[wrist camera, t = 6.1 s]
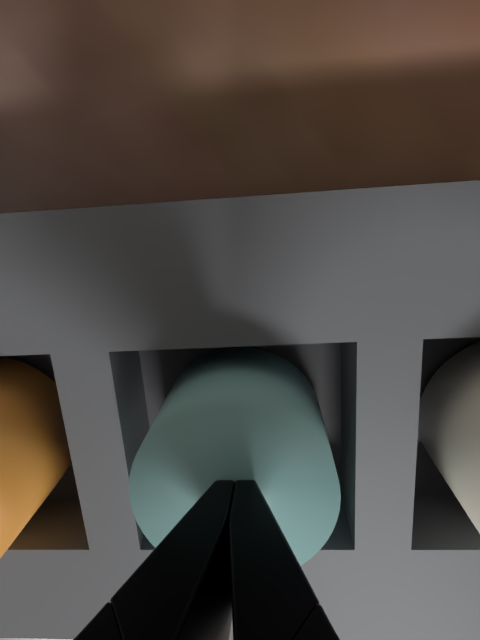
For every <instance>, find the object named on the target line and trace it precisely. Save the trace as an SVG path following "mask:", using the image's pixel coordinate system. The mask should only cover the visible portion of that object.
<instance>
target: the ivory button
mask: <svg viewBox="0 0 480 640" xmlns="http://www.w3.org/2000/svg"><path fill="white" fill-rule="evenodd" d="M418 430H419V435H420V438H421V441H422V444H423V445H424V447H425V449H426V451H427V453H428V454H429V456H430V457H431V459H432V460H433V462H434V464H435V465H436V467H437V468H438V470H439V471H440V473H441V474H442V476H443V478H444V479H445V481H446V482H447V484H448V485H449V487H450V488H451V490H452V492H453V493H454V495H455V496H456V498H457V499H458V501H459V502H460V504H461V506H462V507H463V509H464V510H465V512H466V513H467V515H468V516H469V518H470V520H471V521H472V523H473V524H474V526H475V527H476V529H477V530H478V532H479V534H480V342H478V343H475V344H473V345H471V346H469V347H467V348H465V349H463V350H462V351H460V352H458V353H457V354H455V355H454V356H452V357H451V358H450V359H449V360H447V361H446V362H445V363H444V364H443V365H442V366H441V367H440V368H439V369H438V370H437V371H436V373H435V374H434V375H433V376H432V378H431V379H430V381H429V382H428V384H427V386H426V387H425V390H424V392H423V394H422V396H421V400H420V405H419V422H418Z"/></svg>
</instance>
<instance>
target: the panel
mask: <svg viewBox="0 0 480 640" xmlns="http://www.w3.org/2000/svg"><path fill="white" fill-rule="evenodd" d="M478 342H480V180H475V181H460V182H446V183H432V184H417V185H403V186H389V187H374V188H360V189H345V190H331V191H317V192H302V193H288V194H273V195H259V196H245V197H230V198H216V199H201V200H187V201H173V202H158V203H144V204H130V205H115V206H101V207H86V208H72V209H58V210H43V211H29V212H14V213H0V357H3V358H10V359H14V360H17V361H20V362H23V363H25V364H28V365H30V366H32V367H34V368H36V369H38V370H39V371H41V372H42V373H44V374H45V375H46V376H48V377H49V378H50V379H51V380H52V381H53V382H55V383H56V386H57V391H58V396H59V401H60V406H61V410H62V415H63V420H64V425H65V430H66V435H67V440H68V445H69V450H70V455H71V460H72V465H71V466H70V467H69V469H68V470H67V471H66V473H65V474H64V475H63V477H62V478H61V479H60V480H59V482H58V483H57V484H56V486H55V487H54V488H53V490H52V491H51V492H50V494H49V495H48V496H47V498H46V499H45V500H44V502H43V503H42V504H41V506H40V507H39V508H38V510H37V511H36V512H35V514H34V515H33V516H32V518H31V519H30V520H29V521H28V523H27V524H26V525H25V527H24V528H23V529H22V531H21V532H20V533H19V535H18V536H17V537H16V539H15V540H14V541H13V543H12V544H11V545H10V547H9V548H8V549H7V551H6V552H5V553H4V555H3V556H2V557H1V558H0V638H47V639H74V638H75V637H76V636H77V635H78V634H79V633H80V632H81V631H82V630H83V628H84V627H85V626H86V625H87V624H88V623H89V622H90V621H91V620H92V619H93V618H94V616H95V615H96V614H97V613H98V612H99V611H100V610H101V609H102V607H103V606H104V605H105V604H106V603H107V602H110V599H111V598H112V596H113V595H114V594H115V593H116V592H117V591H118V590H119V589H120V587H121V586H122V585H123V584H124V583H125V582H126V581H127V579H128V578H129V577H130V576H131V575H132V574H133V573H134V572H135V570H136V569H137V568H138V567H139V566H140V565H141V564H142V563H143V561H144V560H145V559H146V558H147V557H148V556H149V555H150V554H151V552H152V551H153V550H154V549H155V547H154V546H153V545H152V544H151V543H150V542H149V540H148V539H147V538H146V536H145V535H144V534H143V532H142V530H141V529H140V527H139V525H138V523H137V521H136V519H135V516H134V514H133V511H132V507H131V503H130V497H129V476H130V472H131V467H132V464H133V461H134V459H135V456H136V454H137V452H138V450H139V448H140V446H141V444H142V442H143V440H144V438H145V437H146V435H147V433H148V431H149V429H150V427H151V425H152V423H153V421H154V420H155V418H156V416H157V414H158V412H159V410H160V408H161V406H162V404H163V402H164V401H165V399H166V397H167V395H168V393H169V391H170V389H171V387H172V386H173V384H174V382H175V380H176V379H177V377H178V376H179V375H180V374H181V372H182V371H183V370H184V369H185V368H186V367H187V366H188V365H189V364H191V363H192V362H194V361H195V360H196V359H198V358H200V357H202V356H204V355H205V354H208V353H210V352H213V351H216V350H220V349H224V348H231V347H251V348H258V349H262V350H265V351H269V352H271V353H274V354H276V355H279V356H280V357H282V358H284V359H286V360H287V361H289V362H290V363H291V364H293V365H294V366H295V367H297V368H298V369H299V370H300V371H301V372H302V373H303V374H304V376H305V377H306V378H307V379H308V381H309V382H310V384H311V385H312V387H313V389H314V391H315V393H316V396H317V398H318V401H319V405H320V409H321V413H322V417H323V421H324V425H325V428H326V432H327V436H328V440H329V444H330V448H331V452H332V456H333V460H334V463H335V467H336V471H337V475H338V480H339V484H340V493H341V502H340V511H339V515H338V519H337V522H336V525H335V527H334V530H333V532H332V534H331V535H330V537H329V539H328V540H327V542H326V543H325V544H324V546H323V547H322V548H321V549H320V550H319V552H317V553H316V554H315V555H314V556H313V557H312V558H311V559H310V560H308V561H307V562H306V563H304V564H303V565H301V568H302V570H303V572H304V574H305V576H306V578H307V579H308V581H309V583H310V585H311V587H312V589H313V591H314V593H315V595H316V597H317V598H318V600H319V603H320V605H321V606H322V607H323V609H324V611H325V613H326V615H327V617H328V619H329V621H330V623H331V625H332V626H333V628H334V630H335V632H336V633H337V635H338V637H339V639H340V640H480V534H479V532H478V530H477V529H476V527H475V526H474V524H473V523H472V521H471V520H470V518H469V516H468V515H467V513H466V512H465V510H464V509H463V507H462V506H461V504H460V502H459V501H458V499H457V498H456V496H455V495H454V493H453V492H452V490H451V488H450V487H449V485H448V484H447V482H446V481H445V479H444V478H443V476H442V474H441V473H440V471H439V470H438V468H437V467H436V465H435V464H434V462H433V460H432V459H431V457H430V456H429V454H428V453H427V451H426V449H425V447H424V445H423V444H422V441H421V438H420V435H419V430H418V422H419V405H420V400H421V396H422V394H423V392H424V390H425V387H426V386H427V384H428V382H429V381H430V379H431V378H432V376H433V375H434V374H435V373H436V371H437V370H438V369H439V368H440V367H441V366H442V365H443V364H444V363H445V362H446V361H447V360H449V359H450V358H451V357H452V356H454V355H455V354H457V353H458V352H460V351H462V350H463V349H465V348H467V347H469V346H471V345H473V344H475V343H478ZM229 640H233V624H232V622H231V628H230V634H229Z"/></svg>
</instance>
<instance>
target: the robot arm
mask: <svg viewBox="0 0 480 640" xmlns="http://www.w3.org/2000/svg"><path fill="white" fill-rule="evenodd" d="M231 622H232V624H233V640H340V639H339V637H338V635H337V633H336V632H335V630H334V628H333V626H332V625H331V623H330V621H329V619H328V617H327V615H326V613H325V611H324V609H323V607H322V606H321V605H320V603H319V600H318V598H317V597H316V595H315V593H314V591H313V589H312V587H311V585H310V583H309V581H308V579H307V578H306V576H305V574H304V572H303V570H302V568H301V566H300V564H299V562H298V560H297V558H296V557H295V555H294V553H293V551H292V549H291V547H290V545H289V543H288V541H287V539H286V538H285V536H284V534H283V532H282V530H281V528H280V526H279V524H278V522H277V520H276V518H275V517H274V515H273V513H272V511H271V509H270V507H269V505H268V503H267V501H266V499H265V498H264V496H263V494H262V492H261V490H260V488H259V486H258V484H257V482H256V481H255V480H237V481H236V482H234V481H233V480H216V481H214V482H213V484H212V485H211V486H210V487H209V488H208V489H207V490H206V491H205V493H204V494H203V495H202V496H201V497H200V498H199V499H198V500H197V502H196V503H195V504H194V505H193V506H192V507H191V508H190V510H189V511H188V512H187V513H186V514H185V515H184V516H183V517H182V519H181V520H180V521H179V522H178V523H177V524H176V525H175V526H174V528H173V529H172V530H171V531H170V532H169V533H168V534H167V535H166V537H165V538H164V539H163V540H162V541H161V542H160V543H159V545H158V546H157V547H156V548H155V549H154V550H153V551H152V552H151V554H150V555H149V556H148V557H147V558H146V559H145V560H144V561H143V563H142V564H141V565H140V566H139V567H138V568H137V569H136V570H135V572H134V573H133V574H132V575H131V576H130V577H129V578H128V579H127V581H126V582H125V583H124V584H123V585H122V586H121V587H120V589H119V590H118V591H117V592H116V593H115V594H114V595H113V596H112V598H111V599H110V602H107V603H106V604H105V605H104V606H103V607H102V609H101V610H100V611H99V612H98V613H97V614H96V615H95V616H94V618H93V619H92V620H91V621H90V622H89V623H88V624H87V625H86V626H85V627H84V628H83V630H82V631H81V632H80V633H79V634H78V635H77V636H76V637H75V638H74V639H73V640H229V634H230V628H231Z"/></svg>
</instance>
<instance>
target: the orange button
mask: <svg viewBox="0 0 480 640" xmlns="http://www.w3.org/2000/svg"><path fill="white" fill-rule="evenodd" d="M71 465H72V460H71V455H70V450H69V445H68V440H67V435H66V430H65V425H64V420H63V415H62V410H61V406H60V401H59V396H58V391H57V386H56V383H55V382H53V381H52V380H51V379H50V378H49V377H48V376H46V375H45V374H44V373H42V372H41V371H39V370H38V369H36V368H34V367H32V366H30V365H28V364H25V363H23V362H20V361H17V360H14V359H10V358H3V357H0V558H1V557H2V556H3V555H4V553H5V552H6V551H7V549H8V548H9V547H10V545H11V544H12V543H13V541H14V540H15V539H16V537H17V536H18V535H19V533H20V532H21V531H22V529H23V528H24V527H25V525H26V524H27V523H28V521H29V520H30V519H31V518H32V516H33V515H34V514H35V512H36V511H37V510H38V508H39V507H40V506H41V504H42V503H43V502H44V500H45V499H46V498H47V496H48V495H49V494H50V492H51V491H52V490H53V488H54V487H55V486H56V484H57V483H58V482H59V480H60V479H61V478H62V477H63V475H64V474H65V473H66V471H67V470H68V469H69V467H70V466H71Z"/></svg>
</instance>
